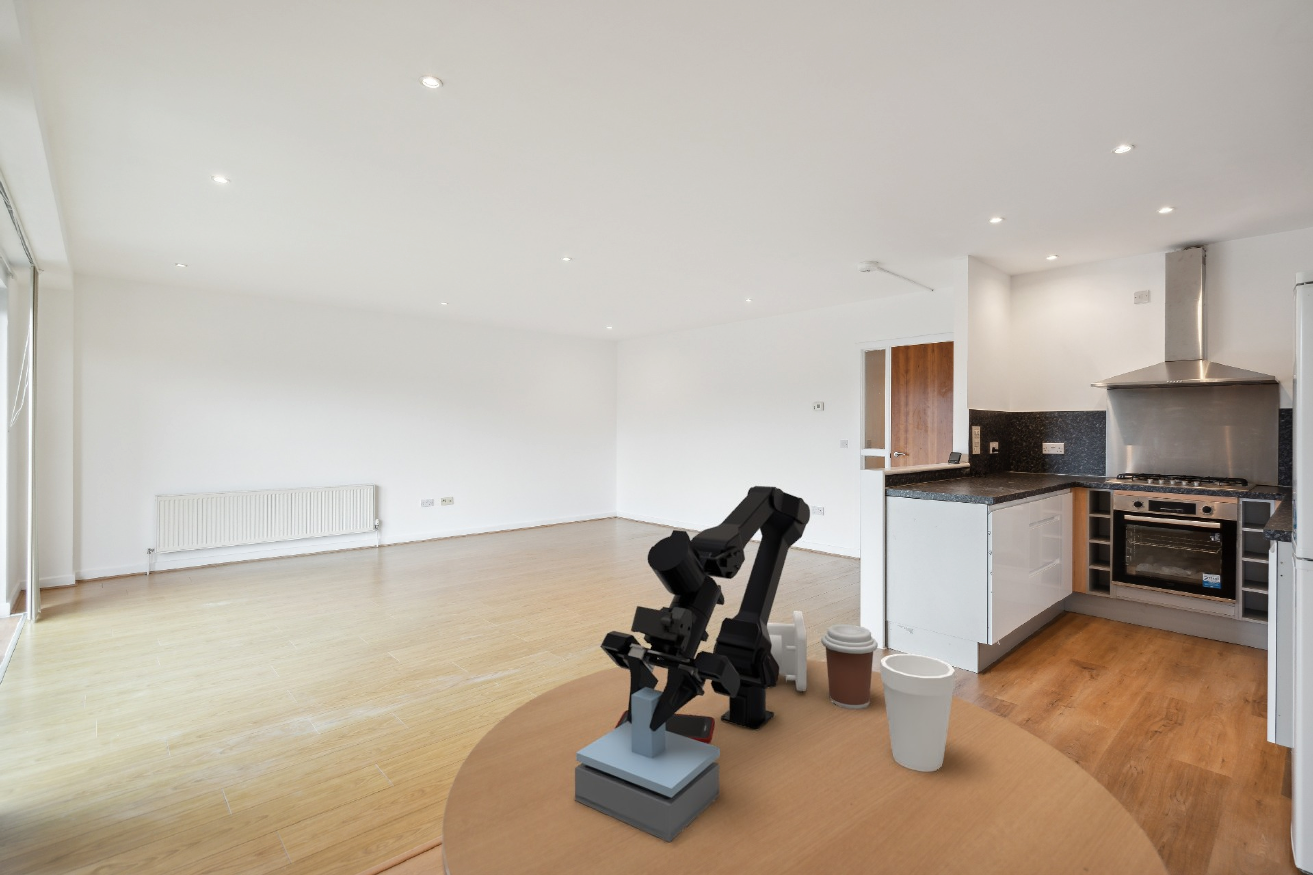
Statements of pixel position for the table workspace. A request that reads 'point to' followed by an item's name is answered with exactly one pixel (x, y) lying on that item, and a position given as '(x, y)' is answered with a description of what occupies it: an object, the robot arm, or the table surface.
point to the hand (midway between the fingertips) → (640, 726)
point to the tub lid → (649, 751)
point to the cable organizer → (790, 649)
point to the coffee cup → (849, 664)
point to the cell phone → (685, 726)
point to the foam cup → (917, 708)
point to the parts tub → (647, 800)
